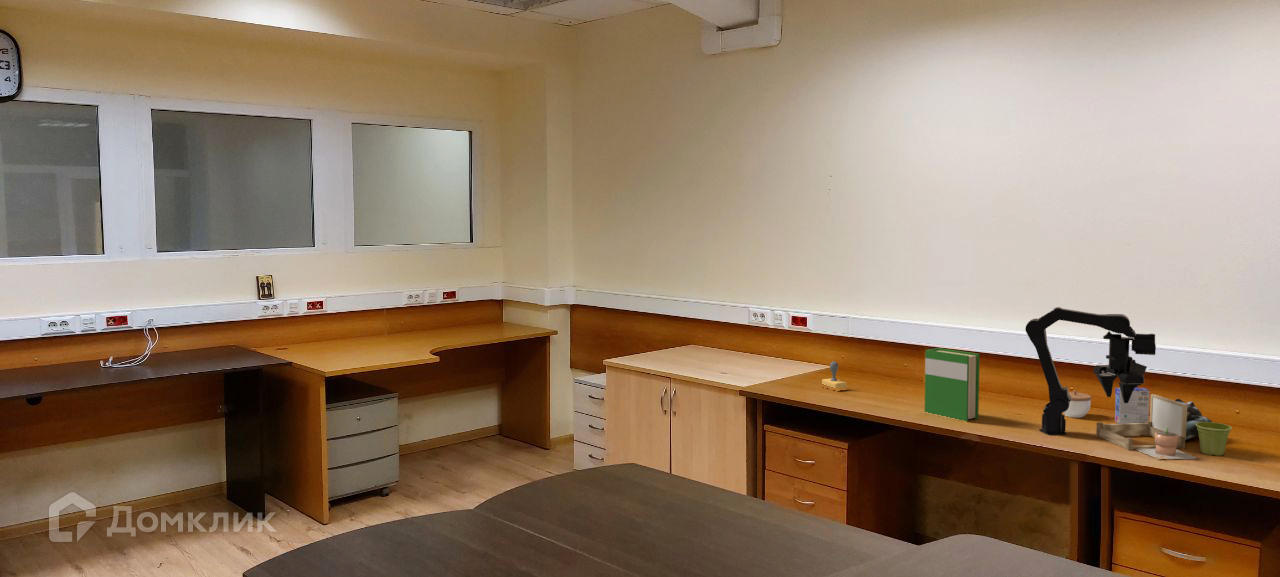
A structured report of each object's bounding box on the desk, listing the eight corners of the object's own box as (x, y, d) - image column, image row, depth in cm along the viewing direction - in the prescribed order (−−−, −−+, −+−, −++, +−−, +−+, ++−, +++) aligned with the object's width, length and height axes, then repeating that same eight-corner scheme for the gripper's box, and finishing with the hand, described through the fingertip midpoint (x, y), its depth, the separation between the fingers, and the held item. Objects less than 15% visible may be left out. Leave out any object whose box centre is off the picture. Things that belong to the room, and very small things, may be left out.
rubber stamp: (821, 387, 375) (821, 360, 374) (832, 386, 378) (832, 359, 377) (835, 391, 366) (835, 363, 365) (846, 390, 369) (847, 362, 368)
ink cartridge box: (1143, 421, 309) (1145, 381, 307) (1149, 425, 303) (1151, 384, 302) (1113, 420, 311) (1114, 380, 309) (1118, 424, 305) (1120, 383, 304)
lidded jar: (1089, 413, 321) (1090, 388, 320) (1091, 420, 311) (1092, 394, 310) (1057, 411, 325) (1058, 386, 324) (1058, 417, 316) (1058, 392, 315)
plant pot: (1238, 455, 266) (1239, 427, 265) (1216, 458, 262) (1218, 430, 261) (1208, 447, 274) (1209, 420, 274) (1187, 451, 271) (1188, 423, 270)
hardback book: (978, 419, 316) (979, 353, 314) (966, 422, 312) (967, 356, 309) (936, 410, 330) (937, 348, 328) (924, 413, 326) (925, 350, 324)
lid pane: (1182, 438, 274) (1184, 405, 273) (1149, 425, 290) (1150, 394, 289) (1185, 438, 274) (1187, 405, 273) (1152, 425, 290) (1153, 394, 289)
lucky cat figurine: (1175, 443, 280) (1156, 402, 284) (1162, 448, 291) (1143, 408, 296) (1223, 430, 278) (1202, 389, 283) (1207, 436, 289) (1188, 396, 294)
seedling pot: (1162, 456, 264) (1163, 430, 264) (1149, 450, 270) (1150, 425, 270) (1182, 455, 265) (1183, 429, 264) (1168, 450, 271) (1169, 424, 270)
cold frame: (1128, 450, 273) (1128, 435, 272) (1096, 435, 290) (1096, 422, 290) (1184, 448, 274) (1185, 434, 273) (1149, 434, 291) (1150, 420, 291)
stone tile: (1158, 460, 262) (1158, 458, 262) (1135, 450, 273) (1135, 449, 273) (1196, 459, 262) (1196, 457, 262) (1172, 449, 273) (1172, 447, 273)
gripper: (1161, 357, 275) (1159, 405, 276) (1125, 348, 293) (1123, 393, 295) (1127, 358, 274) (1125, 406, 276) (1093, 348, 293) (1092, 394, 294)
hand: (1117, 400), depth 285 cm, fingers open, 9 cm apart
